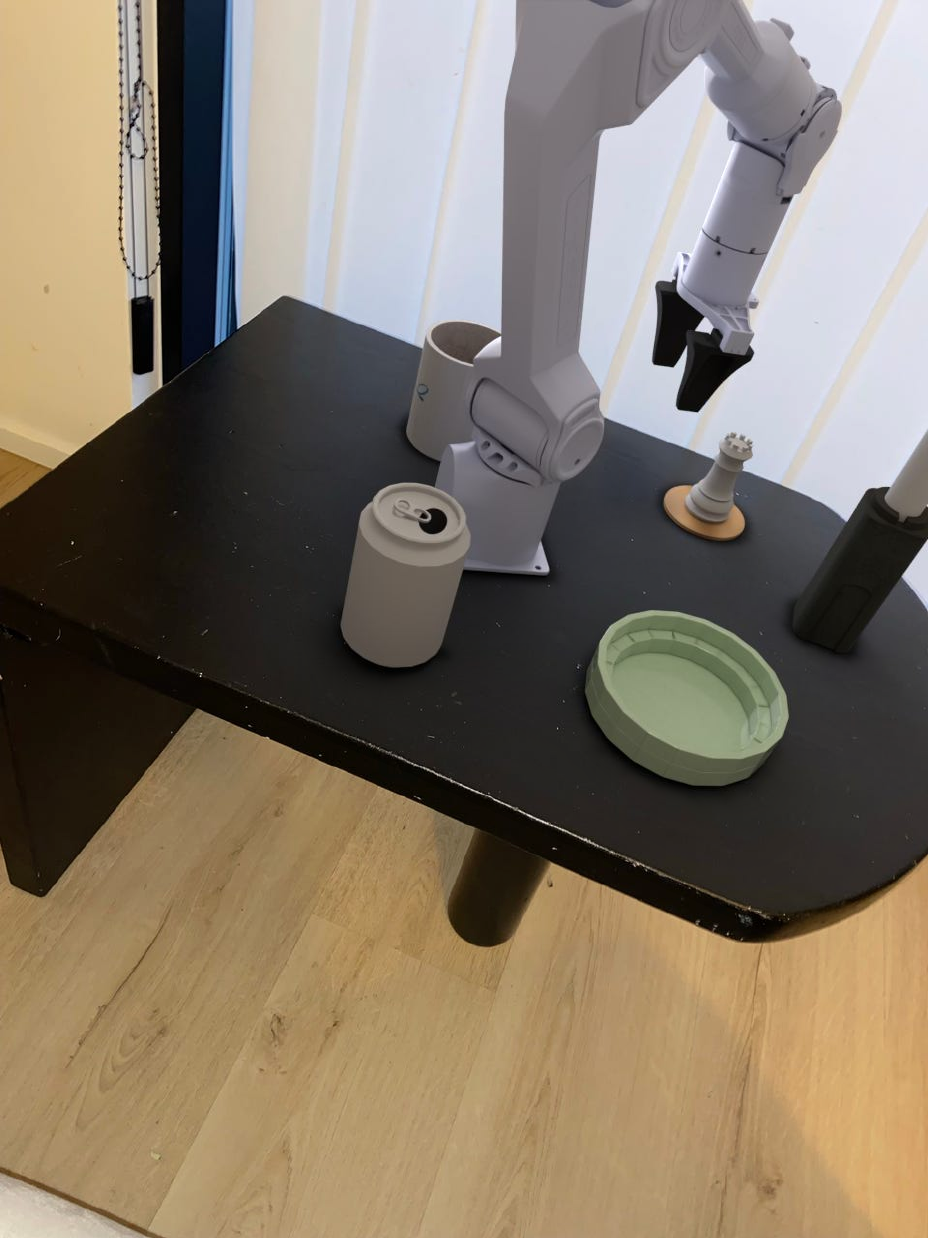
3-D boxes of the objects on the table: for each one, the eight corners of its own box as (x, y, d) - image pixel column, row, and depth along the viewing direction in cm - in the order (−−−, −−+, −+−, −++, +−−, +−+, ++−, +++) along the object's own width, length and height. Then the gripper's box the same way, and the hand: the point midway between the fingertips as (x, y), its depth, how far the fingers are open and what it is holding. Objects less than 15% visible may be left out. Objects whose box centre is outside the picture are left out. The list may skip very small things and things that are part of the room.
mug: (479, 475, 87) (505, 379, 80) (392, 443, 88) (412, 345, 81) (514, 416, 96) (541, 325, 89) (436, 387, 97) (456, 295, 90)
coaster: (677, 537, 87) (679, 533, 86) (653, 484, 92) (654, 481, 92) (755, 544, 89) (757, 540, 88) (726, 492, 94) (728, 489, 94)
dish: (610, 788, 64) (627, 756, 61) (565, 637, 73) (578, 604, 71) (796, 791, 67) (819, 760, 65) (729, 646, 77) (747, 615, 75)
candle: (850, 621, 83) (1024, 368, 66) (849, 657, 79) (1033, 399, 63) (794, 599, 84) (953, 343, 67) (791, 635, 80) (957, 372, 63)
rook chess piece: (678, 493, 91) (710, 422, 86) (720, 499, 92) (755, 429, 87) (690, 522, 88) (724, 450, 83) (733, 527, 89) (770, 457, 84)
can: (427, 688, 66) (464, 559, 58) (325, 657, 66) (348, 524, 58) (449, 620, 72) (486, 493, 64) (355, 591, 72) (380, 461, 64)
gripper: (814, 286, 72) (741, 436, 81) (749, 211, 82) (690, 351, 92) (731, 272, 71) (666, 426, 80) (675, 197, 81) (623, 341, 90)
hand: (674, 386), depth 85 cm, fingers open, 7 cm apart
